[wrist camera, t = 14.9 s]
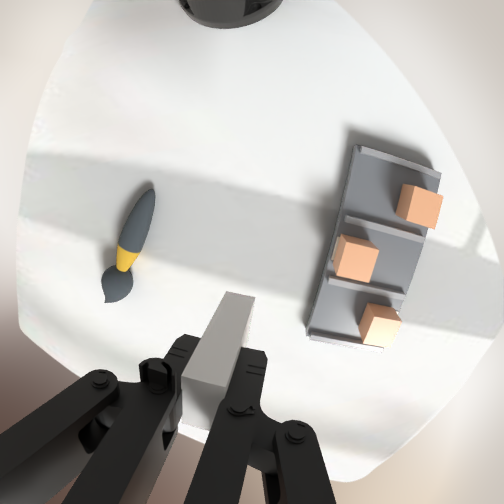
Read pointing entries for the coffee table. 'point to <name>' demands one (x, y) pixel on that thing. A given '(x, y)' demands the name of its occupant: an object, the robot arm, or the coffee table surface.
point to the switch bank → (381, 235)
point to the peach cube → (355, 258)
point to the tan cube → (379, 325)
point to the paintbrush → (128, 249)
